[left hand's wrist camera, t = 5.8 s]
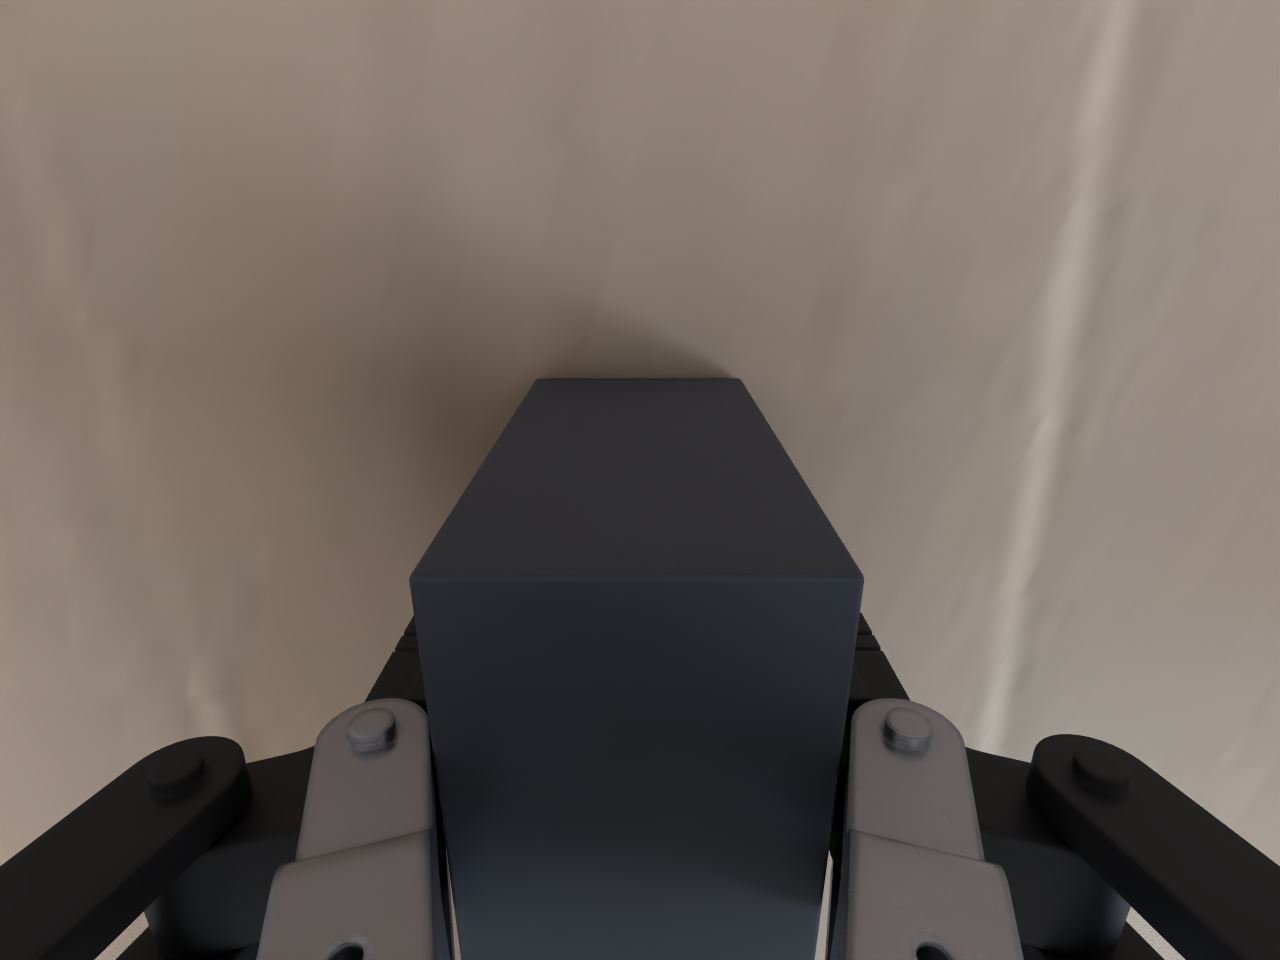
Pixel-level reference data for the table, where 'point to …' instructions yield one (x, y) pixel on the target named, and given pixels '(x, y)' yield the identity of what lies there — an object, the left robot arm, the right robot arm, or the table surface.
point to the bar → (637, 680)
